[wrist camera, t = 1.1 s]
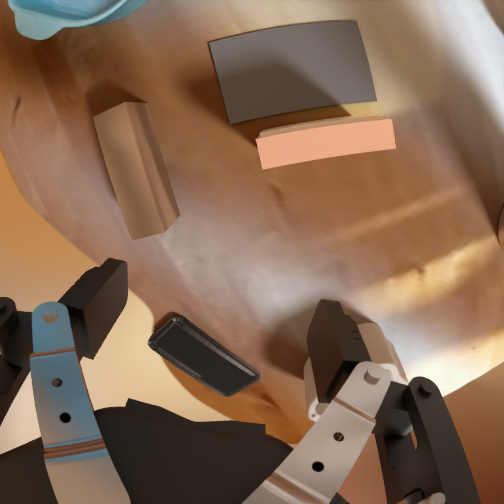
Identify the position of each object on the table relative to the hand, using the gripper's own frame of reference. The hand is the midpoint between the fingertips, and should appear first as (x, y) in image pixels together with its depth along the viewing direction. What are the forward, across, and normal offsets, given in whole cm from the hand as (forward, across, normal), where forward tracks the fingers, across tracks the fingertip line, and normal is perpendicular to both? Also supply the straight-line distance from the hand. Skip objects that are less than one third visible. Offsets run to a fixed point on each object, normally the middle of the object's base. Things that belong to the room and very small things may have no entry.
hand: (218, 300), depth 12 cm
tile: (+18, -5, -7) cm, 20 cm away
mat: (+17, -2, -13) cm, 22 cm away
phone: (+19, +1, +23) cm, 30 cm away
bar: (+18, +10, -2) cm, 21 cm away
